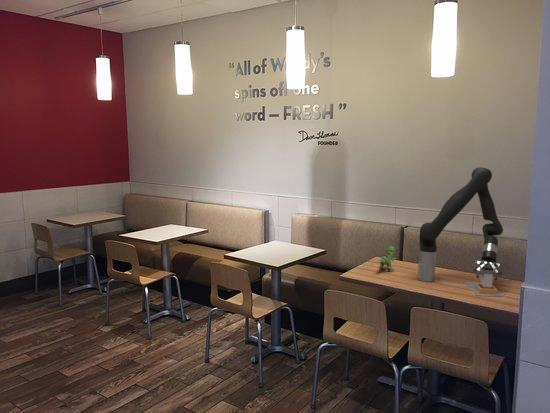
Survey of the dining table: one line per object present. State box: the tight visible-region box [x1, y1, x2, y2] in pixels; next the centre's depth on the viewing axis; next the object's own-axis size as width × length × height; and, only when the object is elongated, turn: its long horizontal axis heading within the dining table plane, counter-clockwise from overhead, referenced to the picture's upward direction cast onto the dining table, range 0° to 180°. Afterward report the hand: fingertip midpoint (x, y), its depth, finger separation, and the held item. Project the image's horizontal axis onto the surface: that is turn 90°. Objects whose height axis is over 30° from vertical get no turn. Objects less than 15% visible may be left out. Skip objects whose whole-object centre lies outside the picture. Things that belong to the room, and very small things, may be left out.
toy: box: [378, 245, 397, 273], centre depth 303 cm, size 12×21×15 cm, turn 172°
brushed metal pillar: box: [480, 271, 494, 289], centre depth 264 cm, size 4×4×10 cm
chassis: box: [464, 281, 503, 298], centre depth 269 cm, size 14×22×4 cm, turn 174°
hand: (486, 278), depth 263 cm, fingers open, 8 cm apart
